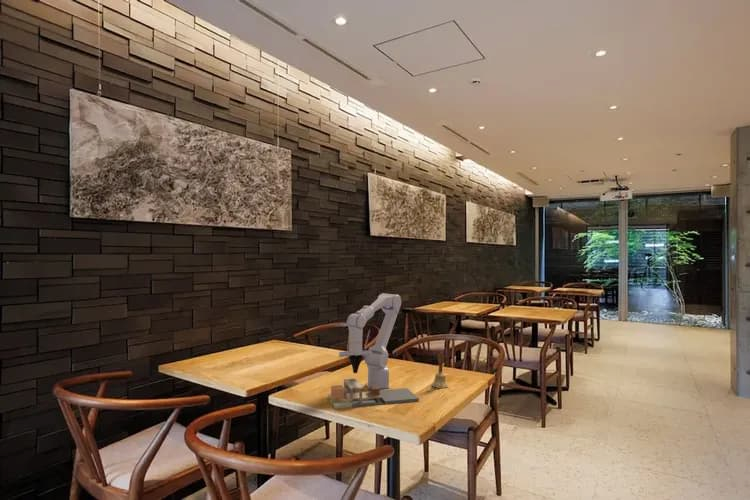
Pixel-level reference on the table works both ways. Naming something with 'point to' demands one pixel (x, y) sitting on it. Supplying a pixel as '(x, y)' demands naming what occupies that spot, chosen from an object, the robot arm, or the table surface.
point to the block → (337, 392)
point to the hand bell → (440, 375)
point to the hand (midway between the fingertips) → (355, 372)
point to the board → (380, 399)
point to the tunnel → (352, 388)
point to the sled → (372, 394)
